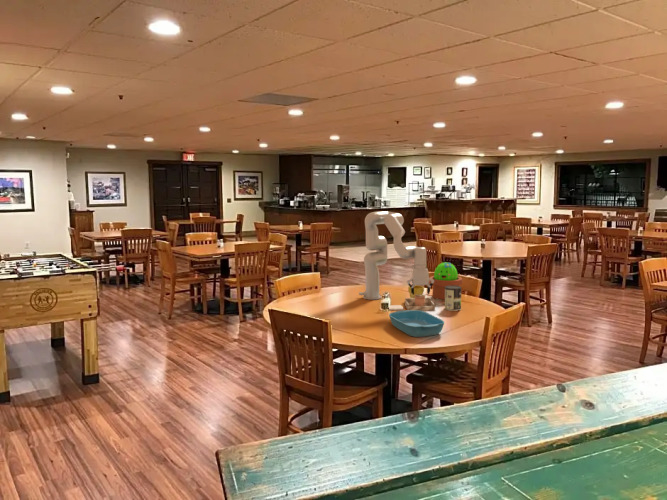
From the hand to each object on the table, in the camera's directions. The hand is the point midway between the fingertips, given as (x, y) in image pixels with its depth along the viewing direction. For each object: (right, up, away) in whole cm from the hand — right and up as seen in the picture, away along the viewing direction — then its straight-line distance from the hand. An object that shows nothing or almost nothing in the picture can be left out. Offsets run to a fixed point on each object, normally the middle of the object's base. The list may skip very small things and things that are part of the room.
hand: (420, 293), depth 332 cm
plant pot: (0, -7, +21) cm, 22 cm away
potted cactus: (+22, -5, +30) cm, 38 cm away
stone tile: (-16, -9, +1) cm, 18 cm away
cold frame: (0, -9, +2) cm, 9 cm away
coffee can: (+20, -10, -2) cm, 22 cm away
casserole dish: (-10, -16, -45) cm, 49 cm away
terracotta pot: (0, -9, +2) cm, 9 cm away
